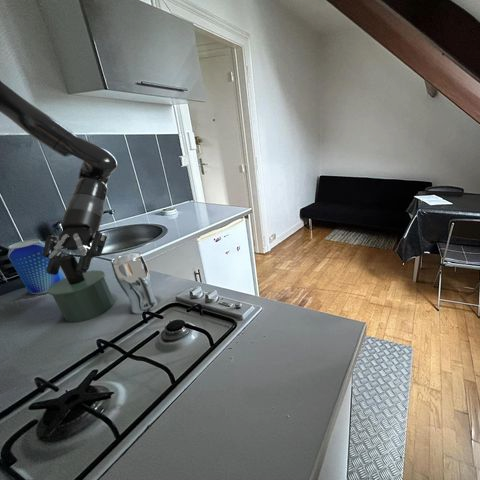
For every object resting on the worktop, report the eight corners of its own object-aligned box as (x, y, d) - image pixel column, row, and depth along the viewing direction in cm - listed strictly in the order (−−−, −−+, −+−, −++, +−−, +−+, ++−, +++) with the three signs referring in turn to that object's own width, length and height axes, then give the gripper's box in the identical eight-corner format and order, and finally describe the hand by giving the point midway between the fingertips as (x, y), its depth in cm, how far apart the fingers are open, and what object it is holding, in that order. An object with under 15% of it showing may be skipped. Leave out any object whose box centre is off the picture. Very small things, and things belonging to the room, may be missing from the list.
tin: (66, 328, 65) (50, 299, 61) (65, 310, 72) (51, 283, 69) (116, 308, 71) (104, 282, 68) (111, 293, 78) (101, 269, 75)
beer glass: (127, 318, 67) (105, 267, 61) (133, 303, 73) (113, 255, 67) (158, 310, 69) (139, 260, 63) (161, 296, 75) (144, 249, 69)
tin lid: (48, 303, 61) (31, 273, 58) (50, 285, 69) (35, 258, 66) (108, 283, 68) (96, 256, 65) (103, 269, 76) (92, 244, 73)
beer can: (66, 279, 88) (44, 235, 82) (67, 288, 83) (43, 242, 76) (31, 290, 83) (5, 244, 77) (30, 300, 77) (1, 251, 71)
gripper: (44, 209, 68) (21, 271, 61) (100, 205, 68) (83, 266, 62) (70, 222, 75) (51, 278, 68) (120, 218, 75) (107, 274, 69)
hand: (66, 272), depth 65 cm, fingers open, 6 cm apart
